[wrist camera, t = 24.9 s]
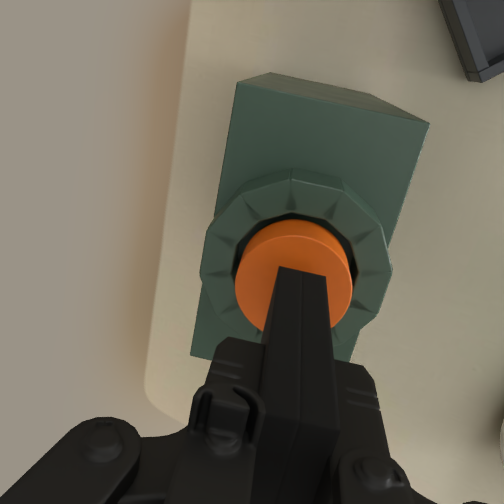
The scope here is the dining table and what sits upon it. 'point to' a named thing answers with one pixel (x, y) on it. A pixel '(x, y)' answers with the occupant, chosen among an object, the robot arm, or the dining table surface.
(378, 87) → the dining table surface
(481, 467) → the dining table surface
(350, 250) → the post
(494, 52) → the tray
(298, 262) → the button
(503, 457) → the decorative egg
